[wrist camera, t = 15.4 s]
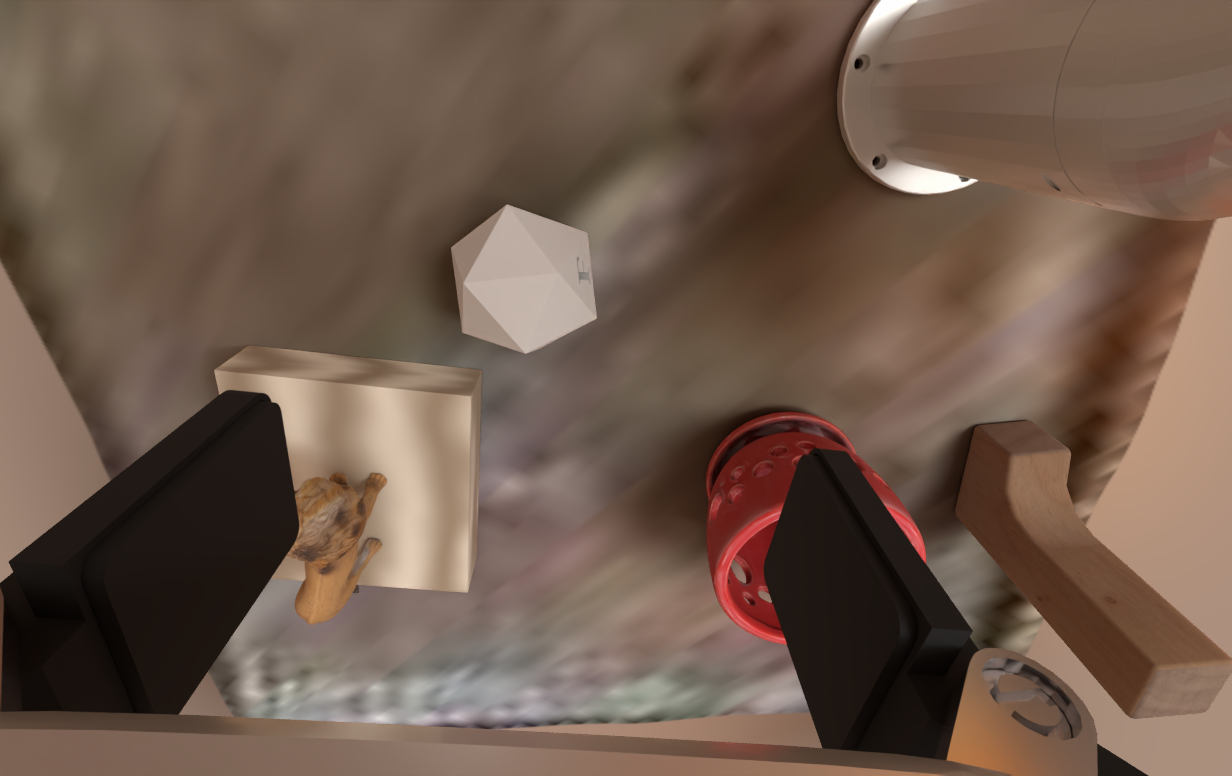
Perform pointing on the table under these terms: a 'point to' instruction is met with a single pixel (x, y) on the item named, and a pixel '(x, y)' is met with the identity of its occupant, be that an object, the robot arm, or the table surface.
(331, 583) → the lion figurine
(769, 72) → the table surface
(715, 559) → the plant pot
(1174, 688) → the wooden block
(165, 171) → the table surface
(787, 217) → the table surface
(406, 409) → the birch plinth
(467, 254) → the die
